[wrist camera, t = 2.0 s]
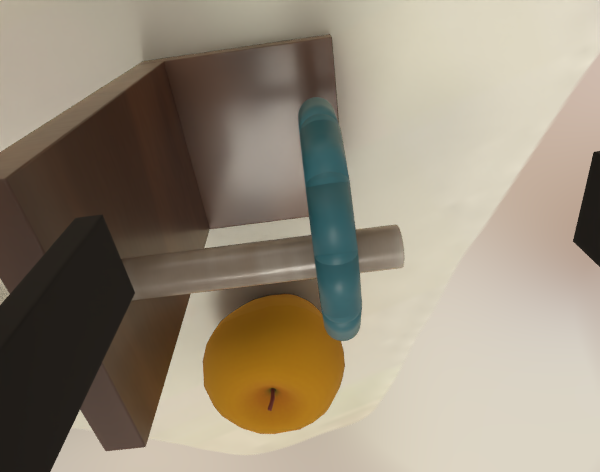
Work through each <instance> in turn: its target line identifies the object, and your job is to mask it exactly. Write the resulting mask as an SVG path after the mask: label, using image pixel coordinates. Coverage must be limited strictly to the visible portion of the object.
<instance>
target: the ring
mask: <svg viewBox="0 0 600 472" xmlns="http://www.w3.org/2000/svg"><path fill="white" fill-rule="evenodd" d="M298 122H299V134H300V144H301V153H302V161H303V170H304V179H305V187H306V196H307V204H308V211H309V219H310V227H311V235H312V243H313V251H314V259H315V266H316V274H317V281H318V288H319V296H320V303H321V310H322V316H323V322H324V327H325V330H326V332H327V333H328V335H329V336H330V337H332V338H333V339H335V340H339V341H346V340H349V339H352V338H353V337H354V336H355V335H356V334H357V333H358V331H359V328H360V322H361V310H362V298H361V284H360V270H359V256H358V246H357V238H356V229H355V221H354V213H353V205H352V197H351V189H350V181H349V175H348V170H347V164H346V158H345V152H344V147H343V141H342V135H341V130H340V126H339V123H338V120H337V117H336V115H335V112H334V109H333V107H332V105H331V104H330V103H329V102H328V101H327V100H325V99H323V98H320V97H313V98H310V99H308V100H306V101H305V102H304V103H303V104H302V105H301V107H300V109H299V113H298Z"/></svg>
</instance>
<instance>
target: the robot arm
mask: <svg viewBox="0 0 600 472" xmlns="http://www.w3.org/2000/svg"><path fill="white" fill-rule="evenodd" d="M573 242H574V243H576V245H577V246H579V247H580V248H581V249H582V250H583V251H584V252H585V253H586V254H587V255H588V256H589V257H590V258H591V259H592V260H593V261H594V262H595V263H596V264H597V265H599V267H600V151H597V152H594V153H593V157H592V162H591V166H590V170H589V175H588V179H587V184H586V188H585V192H584V196H583V201H582V205H581V209H580V213H579V218H578V222H577V226H576V231H575V235H574V239H573ZM134 294H135V291H134V289H133V286H132V284H131V282H130V279H129V277H128V274H127V272H126V269H125V267H124V265H123V262H122V260H121V257H120V255H119V253H118V250H117V248H116V245H115V243H114V241H113V238H112V236H111V233H110V231H109V229H108V226H107V224H106V221H105V219H104V217H103V214H102V215H94V216H86V217H78V218H75V219H74V220H73V221H72V223H71V224H70V225H69V226H68V227H67V228H66V230H65V231H64V232H63V233H62V234H61V235H60V237H59V238H58V239H57V240H56V241H55V242H54V243H53V245H52V246H51V247H50V248H49V249H48V250H47V252H46V253H45V254H44V255H43V256H42V257H41V259H40V260H39V261H38V262H37V263H36V264H35V266H34V267H33V268H32V269H31V270H30V271H29V273H28V274H27V275H26V276H25V277H24V278H23V280H22V281H21V282H20V283H19V284H18V285H17V287H16V288H15V289H14V290H13V291H12V292H11V294H10V295H9V296H8V297H7V298H6V299H5V300H4V302H3V303H2V304H1V305H0V472H50V471H51V469H52V467H53V465H54V463H55V460H56V458H57V456H58V454H59V452H60V450H61V448H62V446H63V444H64V442H65V440H66V437H67V435H68V433H69V431H70V429H71V427H72V425H73V423H74V421H75V419H76V416H77V414H78V412H79V410H80V408H81V406H82V404H83V402H84V400H85V397H86V395H87V393H88V391H89V389H90V387H91V385H92V383H93V381H94V379H95V376H96V374H97V372H98V370H99V368H100V366H101V364H102V362H103V360H104V357H105V355H106V353H107V351H108V349H109V347H110V345H111V343H112V341H113V339H114V336H115V334H116V332H117V330H118V328H119V326H120V324H121V322H122V320H123V318H124V315H125V313H126V311H127V309H128V307H129V305H130V303H131V301H132V299H133V296H134Z"/></svg>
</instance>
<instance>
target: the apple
mask: <svg viewBox="0 0 600 472" xmlns="http://www.w3.org/2000/svg"><path fill="white" fill-rule="evenodd" d="M344 367H345V363H344V352H343V348H342V344H341V341H339V340H335V339H333V338H332V337H330V336H329V335H328V333H327V332H326V330H325V327H324V322H323V316H322V313H321V312H320V311H319V310H318V309H317V308H316V307H315V306H314V305H313V304H311V303H310V302H309V301H307V300H306V299H303V298H301V297H298V296H296V295H291V294H279V295H270V296H266V297H262V298H258V299H255V300H252V301H250V302H248V303H246V304H244V305H243V306H241V307H239V308H238V309H236V310H235V311H234V312H232V313H231V314H229V315H228V316H227V317H225V318H224V319H223V320H222V321H221V322H220V323H219V325H218V326H217V328H216V329H215V330H214V332H213V334H212V336H211V337H210V339H209V341H208V343H207V345H206V349H205V354H204V358H203V372H204V387H205V389H206V391H207V393H208V395H209V397H210V399H211V401H212V403H213V405H214V407H215V408H216V409H217V411H218V412H219V413H220V414H221V415H222V416H223V417H225V418H226V419H228V420H229V421H231V422H233V423H234V424H236V425H237V426H239V427H241V428H243V429H246V430H250V431H253V432H256V433H260V434H276V433H281V432H287V431H293V430H298V429H301V428H303V427H305V426H307V425H309V424H311V423H313V422H314V421H316V420H317V419H318V418H319V417H321V416H322V415H323V414H324V413H325V412H326V411H327V410H328V408H329V407H330V405H331V403H332V401H333V399H334V397H335V395H336V393H337V391H338V390H339V388H340V385H341V381H342V377H343V372H344Z"/></svg>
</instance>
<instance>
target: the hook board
mask: <svg viewBox="0 0 600 472" xmlns="http://www.w3.org/2000/svg"><path fill="white" fill-rule="evenodd" d="M313 97H320V98H323V99H325V100H327V101H328V102H329V103H330V104H331V105H332V107H333V109H334V112H335V115H336V117H337V120H338V123H339V118H338V106H337V94H336V82H335V71H334V59H333V47H332V37H331V36H330V34H328V35H321V36H314V37H307V38H300V39H294V40H287V41H280V42H273V43H266V44H259V45H252V46H245V47H238V48H231V49H224V50H218V51H211V52H204V53H197V54H190V55H183V56H176V57H169V58H162V59H155V60H148V61H142V62H141V63H139V64H138V65H136V66H135V67H133V68H132V69H130V70H129V71H127V72H125V73H124V74H122V75H121V76H119V77H118V78H116V79H114V80H113V81H111V82H110V83H108V84H107V85H105V86H103V87H102V88H100V89H99V90H97V91H96V92H94V93H92V94H91V95H89V96H88V97H86V98H85V99H83V100H81V101H80V102H78V103H77V104H75V105H74V106H72V107H71V108H69V109H67V110H66V111H64V112H63V113H61V114H60V115H58V116H56V117H55V118H53V119H52V120H50V121H49V122H47V123H45V124H44V125H42V126H41V127H39V128H38V129H36V130H34V131H33V132H31V133H30V134H28V135H27V136H25V137H23V138H22V139H20V140H19V141H17V142H16V143H14V144H12V145H11V146H9V147H8V148H6V149H5V150H3V151H2V152H0V278H1V280H2V282H3V283H4V285H5V287H6V288H7V290H8V292H9V293H10V294H11V292H12V291H13V290H14V289H15V288H16V287H17V285H18V284H19V283H20V282H21V281H22V280H23V278H24V277H25V276H26V275H27V274H28V273H29V271H30V270H31V269H32V268H33V267H34V266H35V264H36V263H37V262H38V261H39V260H40V259H41V257H42V256H43V255H44V254H45V253H46V252H47V250H48V249H49V248H50V247H51V246H52V245H53V243H54V242H55V241H56V240H57V239H58V238H59V237H60V235H61V234H62V233H63V232H64V231H65V230H66V228H67V227H68V226H69V225H70V224H71V223H72V221H73V220H74V219H75V218H78V217H86V216H94V215H102V214H103V217H104V219H105V221H106V224H107V226H108V229H109V231H110V233H111V236H112V238H113V241H114V243H115V245H116V248H117V250H118V253H119V255H120V257H121V260H122V262H123V265H124V267H125V269H126V272H127V274H128V277H129V279H130V282H131V284H132V286H133V289H134V291H135V294H134V296H133V299H132V301H131V303H130V305H129V307H128V309H127V311H126V313H125V315H124V318H123V320H122V322H121V324H120V326H119V328H118V330H117V332H116V334H115V336H114V339H113V341H112V343H111V345H110V347H109V349H108V351H107V353H106V355H105V357H104V360H103V362H102V364H101V366H100V368H99V370H98V372H97V374H96V376H95V379H94V381H93V383H92V385H91V387H90V389H89V391H88V393H87V395H86V397H85V400H84V402H83V404H82V406H81V408H80V410H81V412H82V413H83V415H84V416H85V418H86V420H87V421H88V423H89V425H90V426H91V428H92V430H93V431H94V433H95V434H96V436H97V438H98V440H99V441H100V443H101V444H102V446H103V448H104V449H105V451H112V450H122V449H131V448H141V447H145V446H146V444H147V440H148V437H149V433H150V430H151V427H152V423H153V420H154V416H155V413H156V410H157V406H158V403H159V400H160V396H161V393H162V389H163V386H164V383H165V379H166V376H167V372H168V369H169V366H170V362H171V359H172V355H173V352H174V349H175V345H176V342H177V338H178V335H179V332H180V328H181V325H182V321H183V318H184V315H185V311H186V308H187V304H188V301H189V298H190V294H191V293H198V292H206V291H215V290H223V289H231V288H240V287H248V286H256V285H265V284H273V283H281V282H289V281H298V280H306V279H314V278H317V274H316V266H315V259H314V251H313V243H312V235H308V236H300V237H292V238H284V239H276V240H268V241H260V242H252V243H244V244H236V245H228V246H220V247H212V248H204V247H205V243H206V240H207V236H208V233H209V230H210V229H215V228H223V227H230V226H238V225H246V224H254V223H262V222H270V221H278V220H286V219H294V218H301V217H309V211H308V204H307V196H306V187H305V179H304V170H303V161H302V153H301V144H300V134H299V122H298V113H299V109H300V107H301V105H302V104H303V103H304V102H305V101H306V100H308V99H310V98H313ZM356 238H357V246H358V256H359V270H360V273H364V272H372V271H381V270H389V269H397V268H402V267H403V266H404V246H403V240H402V235H401V232H400V229H399V227H398V225H388V226H380V227H372V228H364V229H356Z"/></svg>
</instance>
